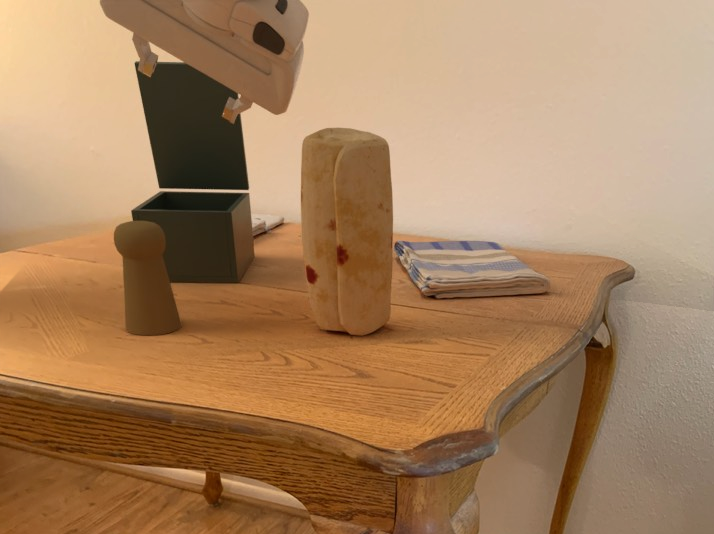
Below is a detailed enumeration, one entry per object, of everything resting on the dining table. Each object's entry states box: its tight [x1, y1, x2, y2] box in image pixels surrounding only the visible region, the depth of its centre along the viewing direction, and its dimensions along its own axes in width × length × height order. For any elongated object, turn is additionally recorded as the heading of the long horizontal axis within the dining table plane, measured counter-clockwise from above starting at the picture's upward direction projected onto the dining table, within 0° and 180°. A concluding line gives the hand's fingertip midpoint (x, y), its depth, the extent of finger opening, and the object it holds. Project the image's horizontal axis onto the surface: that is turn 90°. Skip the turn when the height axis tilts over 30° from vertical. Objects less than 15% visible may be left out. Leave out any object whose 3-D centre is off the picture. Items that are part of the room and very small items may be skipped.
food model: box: [300, 127, 394, 337], centre depth 81 cm, size 10×7×20 cm
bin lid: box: [134, 60, 250, 191], centre depth 105 cm, size 16×13×5 cm
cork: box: [113, 220, 182, 336], centre depth 83 cm, size 6×6×11 cm
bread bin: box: [130, 190, 255, 284], centre depth 105 cm, size 15×13×9 cm
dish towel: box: [393, 240, 551, 300], centre depth 107 cm, size 17×24×3 cm
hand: (188, 94), depth 85 cm, fingers open, 8 cm apart
